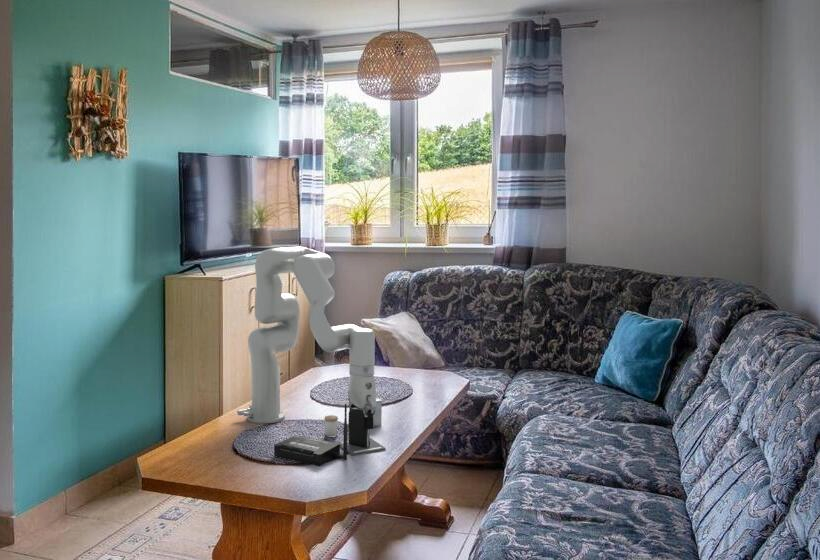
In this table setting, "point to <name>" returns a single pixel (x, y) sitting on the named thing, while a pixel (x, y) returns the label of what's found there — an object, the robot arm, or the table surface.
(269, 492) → the table surface
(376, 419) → the wall box
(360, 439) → the battery charger
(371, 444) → the mat
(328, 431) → the white cylinder
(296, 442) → the black router
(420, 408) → the table surface
